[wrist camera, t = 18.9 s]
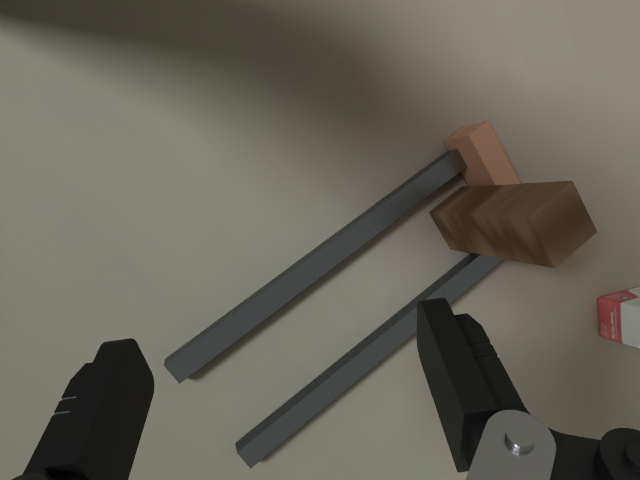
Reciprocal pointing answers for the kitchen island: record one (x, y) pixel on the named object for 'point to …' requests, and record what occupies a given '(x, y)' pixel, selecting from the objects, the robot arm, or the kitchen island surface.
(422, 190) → the guide track
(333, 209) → the kitchen island surface
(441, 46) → the kitchen island surface
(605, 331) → the ink cartridge box
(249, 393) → the kitchen island surface
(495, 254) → the block
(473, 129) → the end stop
